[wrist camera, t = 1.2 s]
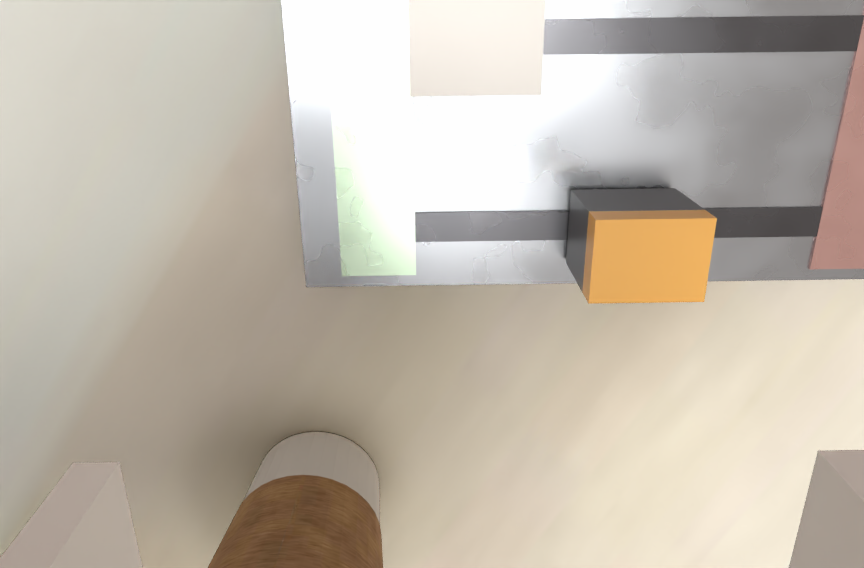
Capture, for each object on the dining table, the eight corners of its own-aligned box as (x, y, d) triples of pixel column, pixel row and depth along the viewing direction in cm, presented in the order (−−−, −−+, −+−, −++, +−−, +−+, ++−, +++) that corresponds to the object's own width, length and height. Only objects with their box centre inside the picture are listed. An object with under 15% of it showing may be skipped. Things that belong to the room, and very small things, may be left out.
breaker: (412, 83, 24) (410, 96, 21) (410, -8, 23) (407, -11, 20) (522, 81, 24) (541, 95, 21) (526, -9, 23) (546, -12, 20)
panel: (312, 272, 29) (305, 288, 28) (266, -274, 22) (254, -296, 20) (889, 264, 29) (916, 279, 28) (1032, -280, 22) (1080, -302, 21)
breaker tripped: (566, 262, 27) (588, 303, 23) (571, 189, 26) (595, 220, 22) (665, 261, 27) (704, 301, 23) (674, 188, 26) (717, 218, 22)
